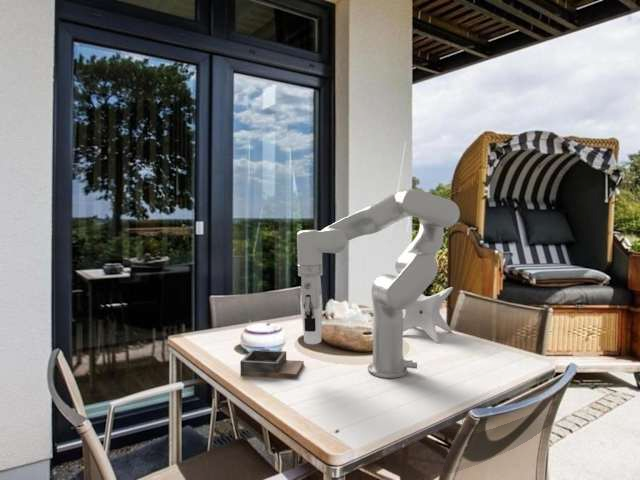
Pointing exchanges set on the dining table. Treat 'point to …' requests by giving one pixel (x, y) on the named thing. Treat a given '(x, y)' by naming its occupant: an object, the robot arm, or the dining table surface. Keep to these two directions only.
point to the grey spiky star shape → (427, 314)
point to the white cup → (315, 336)
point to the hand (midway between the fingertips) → (312, 327)
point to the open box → (270, 364)
